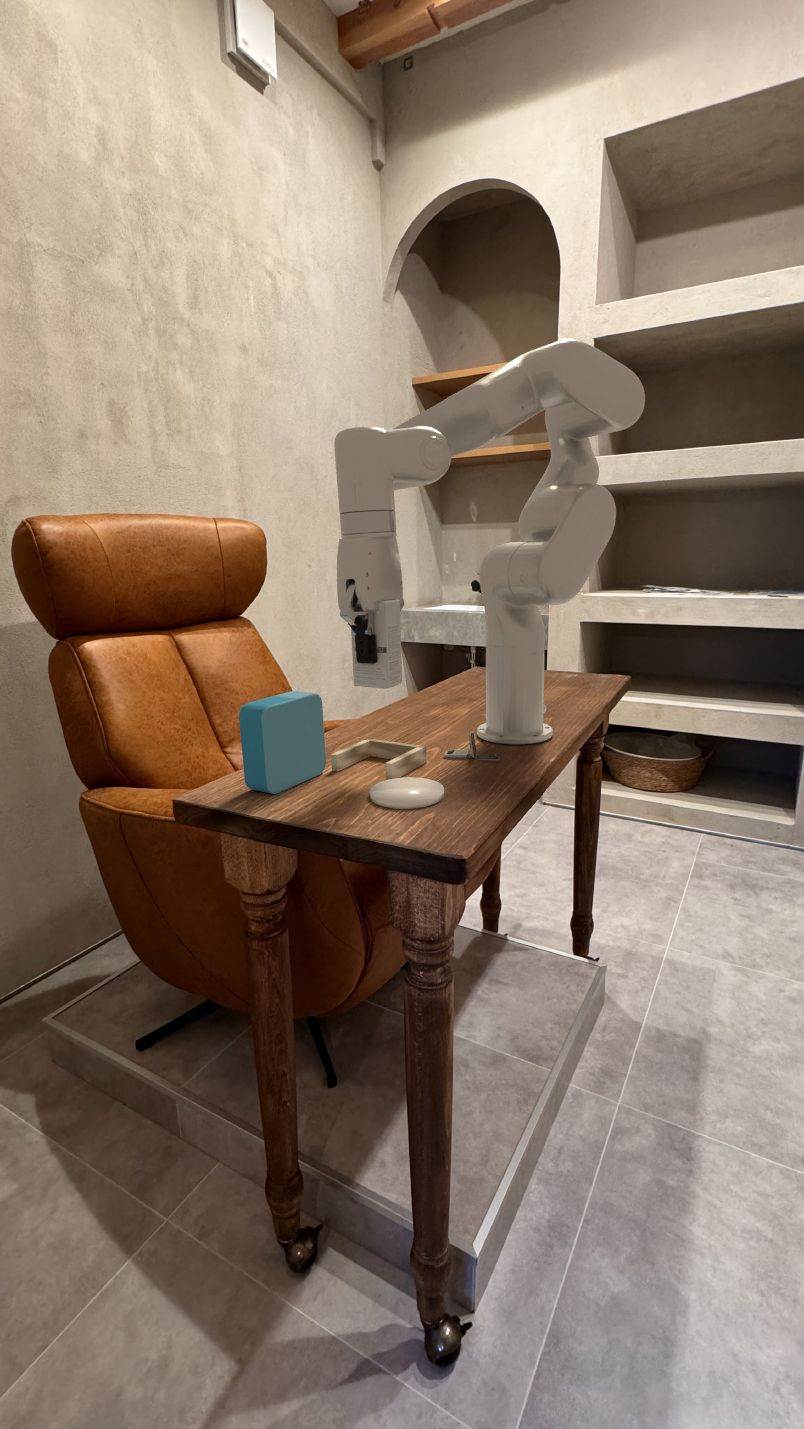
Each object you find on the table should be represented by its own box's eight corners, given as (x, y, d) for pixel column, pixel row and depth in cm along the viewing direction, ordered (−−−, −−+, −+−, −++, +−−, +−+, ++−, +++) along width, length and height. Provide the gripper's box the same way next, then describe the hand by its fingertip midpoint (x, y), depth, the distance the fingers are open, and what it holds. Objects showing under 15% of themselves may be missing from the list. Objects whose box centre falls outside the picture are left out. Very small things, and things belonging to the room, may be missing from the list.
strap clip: (443, 761, 102) (442, 734, 101) (446, 755, 105) (445, 728, 104) (499, 762, 100) (499, 735, 99) (500, 756, 103) (500, 729, 102)
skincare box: (352, 687, 96) (346, 601, 93) (369, 680, 100) (363, 598, 97) (389, 689, 93) (383, 601, 90) (405, 682, 97) (400, 598, 94)
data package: (303, 767, 100) (298, 688, 97) (327, 772, 98) (322, 691, 95) (244, 792, 90) (236, 705, 87) (269, 797, 88) (261, 708, 85)
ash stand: (369, 753, 106) (368, 738, 105) (426, 762, 100) (426, 746, 100) (332, 770, 98) (330, 754, 97) (392, 781, 92) (391, 763, 92)
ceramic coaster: (395, 779, 93) (395, 773, 93) (457, 789, 88) (457, 783, 88) (355, 801, 85) (355, 795, 85) (420, 814, 80) (419, 807, 80)
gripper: (380, 527, 100) (387, 649, 104) (306, 529, 86) (319, 669, 90) (423, 524, 96) (429, 651, 100) (354, 525, 82) (365, 672, 86)
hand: (377, 658), depth 95 cm, fingers closed on skincare box, 4 cm apart
